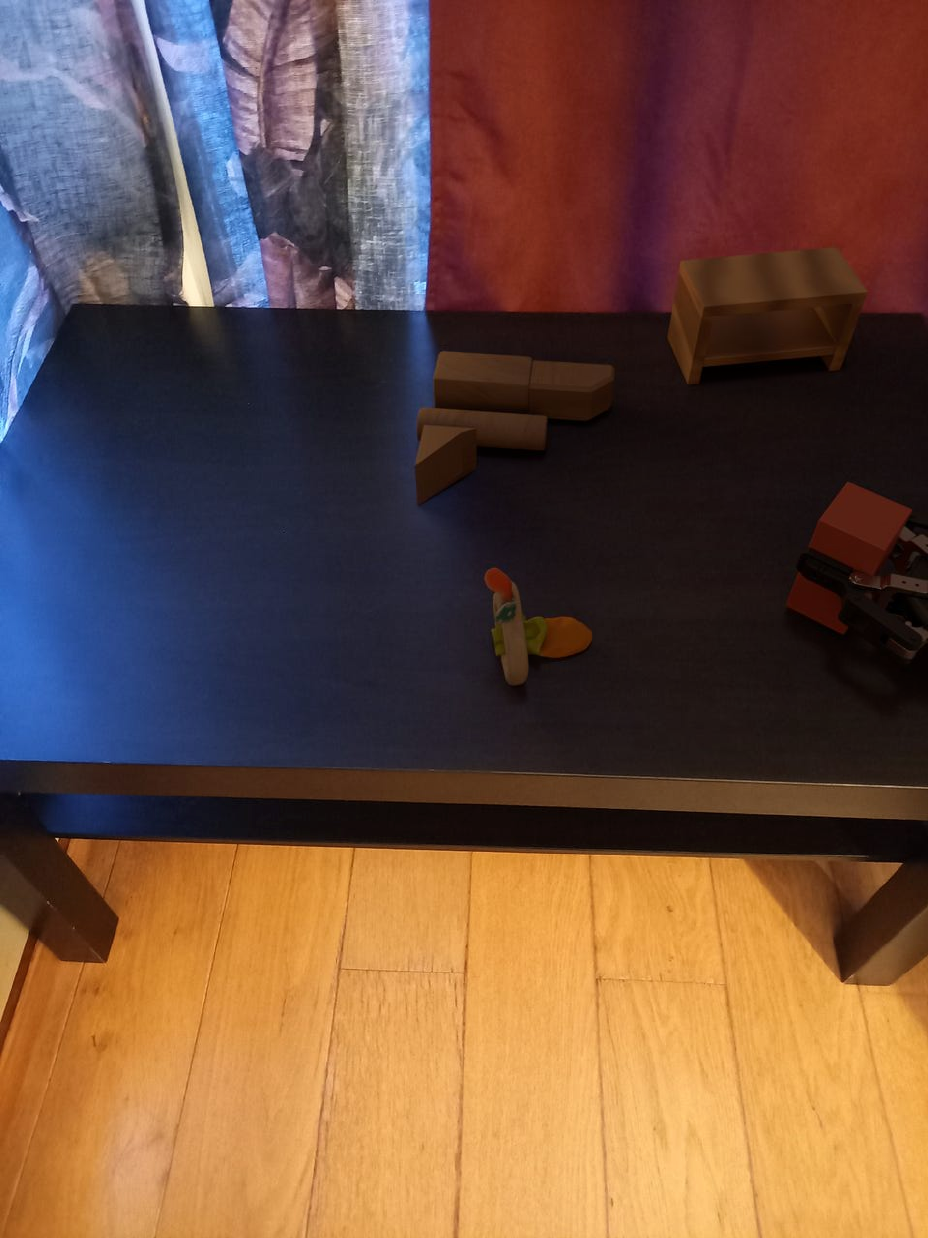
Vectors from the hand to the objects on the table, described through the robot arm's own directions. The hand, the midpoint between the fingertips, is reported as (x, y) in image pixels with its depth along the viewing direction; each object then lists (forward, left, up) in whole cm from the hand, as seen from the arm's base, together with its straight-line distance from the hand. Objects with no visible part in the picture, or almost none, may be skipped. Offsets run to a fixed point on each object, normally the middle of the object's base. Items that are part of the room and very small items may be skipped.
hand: (817, 536), depth 72 cm
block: (-2, +2, -6) cm, 7 cm away
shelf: (-7, -32, -7) cm, 33 cm away
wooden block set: (+20, -21, -7) cm, 30 cm away
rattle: (+22, +4, -7) cm, 24 cm away
